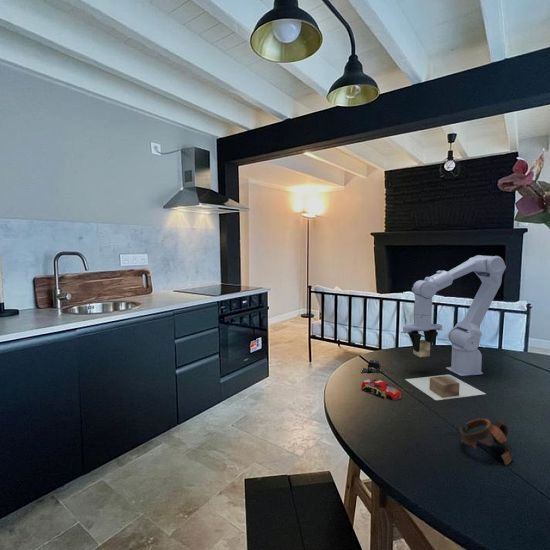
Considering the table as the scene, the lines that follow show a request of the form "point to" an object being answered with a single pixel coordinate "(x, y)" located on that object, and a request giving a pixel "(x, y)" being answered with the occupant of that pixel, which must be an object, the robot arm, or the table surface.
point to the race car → (381, 389)
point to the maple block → (423, 349)
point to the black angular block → (373, 365)
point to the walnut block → (444, 386)
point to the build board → (424, 386)
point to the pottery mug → (487, 435)
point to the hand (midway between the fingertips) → (421, 350)
